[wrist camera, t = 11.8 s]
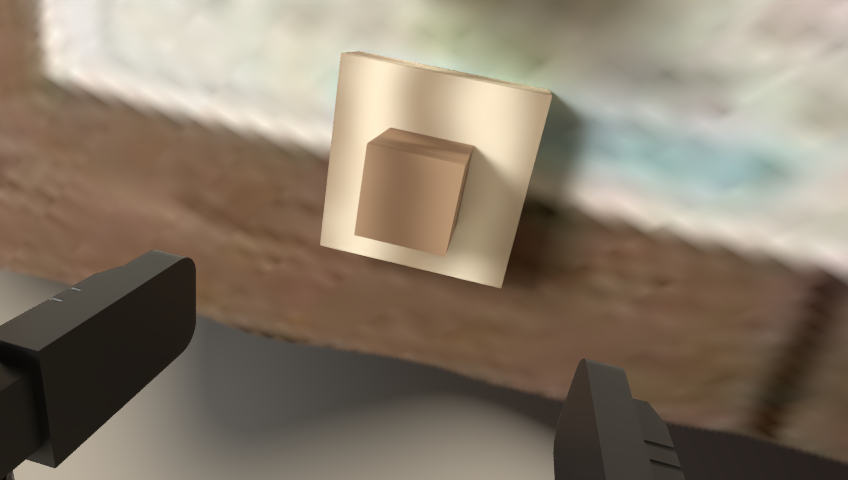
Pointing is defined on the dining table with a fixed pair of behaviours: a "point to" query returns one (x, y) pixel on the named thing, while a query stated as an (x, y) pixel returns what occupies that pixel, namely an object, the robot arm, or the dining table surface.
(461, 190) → the walnut cube
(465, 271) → the beige square plate
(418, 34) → the dining table surface
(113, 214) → the dining table surface
